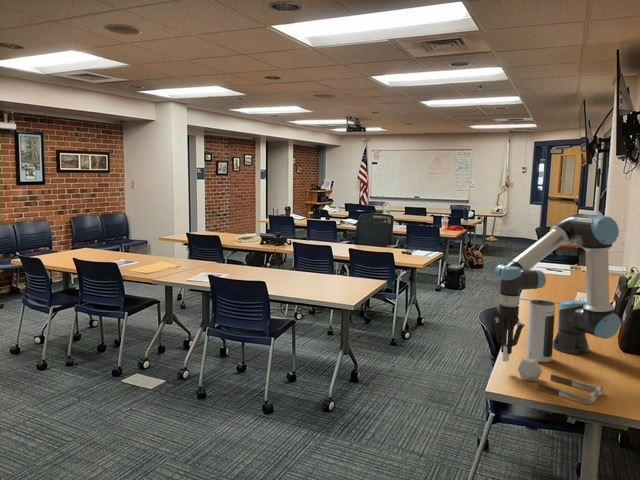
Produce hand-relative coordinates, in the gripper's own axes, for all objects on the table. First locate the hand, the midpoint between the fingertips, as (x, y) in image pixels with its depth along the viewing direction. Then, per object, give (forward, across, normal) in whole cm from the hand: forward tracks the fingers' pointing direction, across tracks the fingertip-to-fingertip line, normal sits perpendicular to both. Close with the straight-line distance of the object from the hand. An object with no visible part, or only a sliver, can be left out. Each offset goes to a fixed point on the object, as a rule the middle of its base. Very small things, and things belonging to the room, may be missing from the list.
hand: (505, 360), depth 202 cm
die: (+5, +10, 0) cm, 11 cm away
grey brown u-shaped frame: (+5, +25, 0) cm, 25 cm away
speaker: (+5, +3, +26) cm, 27 cm away
